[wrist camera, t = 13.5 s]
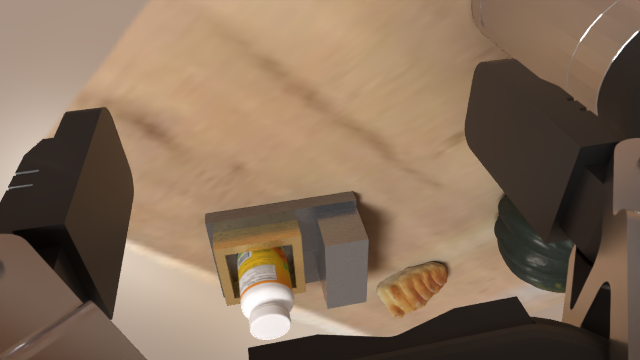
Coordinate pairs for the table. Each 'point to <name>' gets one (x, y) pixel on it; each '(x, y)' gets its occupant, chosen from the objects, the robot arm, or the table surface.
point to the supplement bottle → (265, 291)
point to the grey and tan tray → (297, 244)
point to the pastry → (411, 287)
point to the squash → (531, 250)
